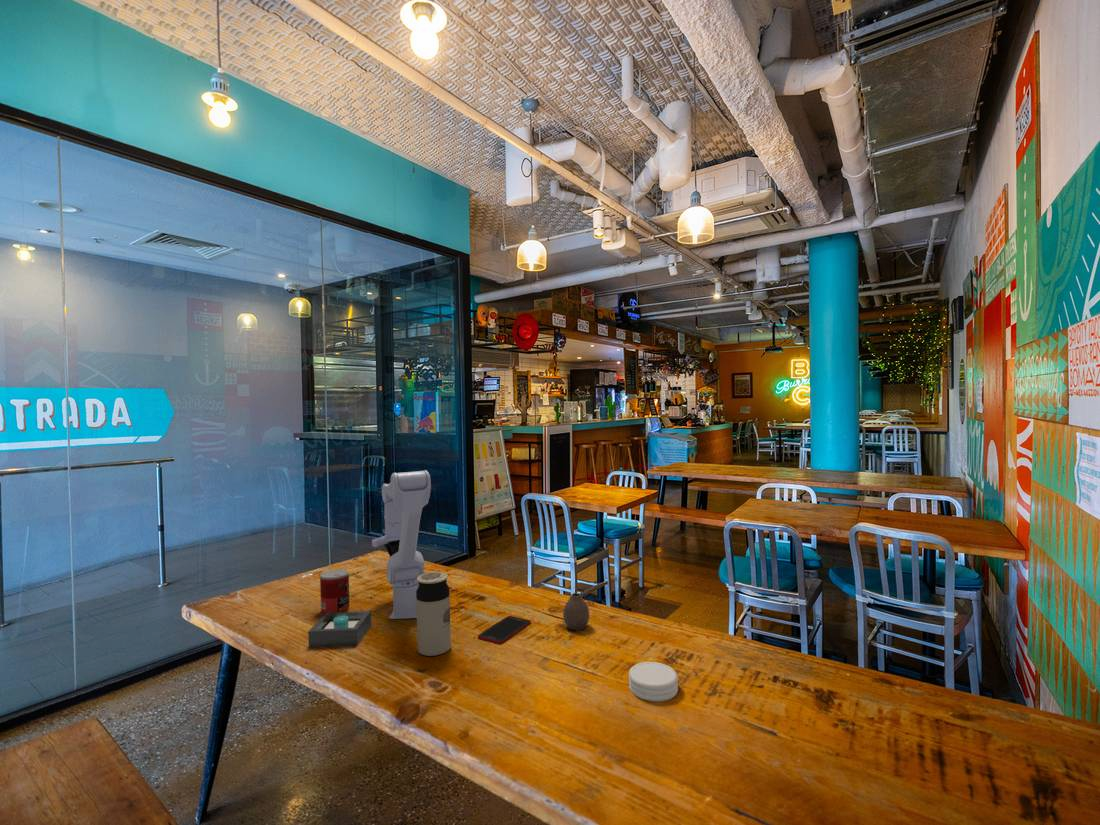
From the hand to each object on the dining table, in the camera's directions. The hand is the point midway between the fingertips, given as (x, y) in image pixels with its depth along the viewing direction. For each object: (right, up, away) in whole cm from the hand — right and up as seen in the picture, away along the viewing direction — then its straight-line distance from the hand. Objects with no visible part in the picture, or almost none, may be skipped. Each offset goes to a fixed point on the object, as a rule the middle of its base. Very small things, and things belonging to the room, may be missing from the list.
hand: (395, 564), depth 163 cm
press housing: (-6, -11, -27) cm, 29 cm away
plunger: (-6, -10, -27) cm, 29 cm away
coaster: (+70, -10, -55) cm, 90 cm away
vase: (+56, -10, -25) cm, 62 cm away
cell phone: (+37, -11, -26) cm, 46 cm away
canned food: (-15, -11, -9) cm, 21 cm away
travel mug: (+20, -11, -35) cm, 42 cm away
